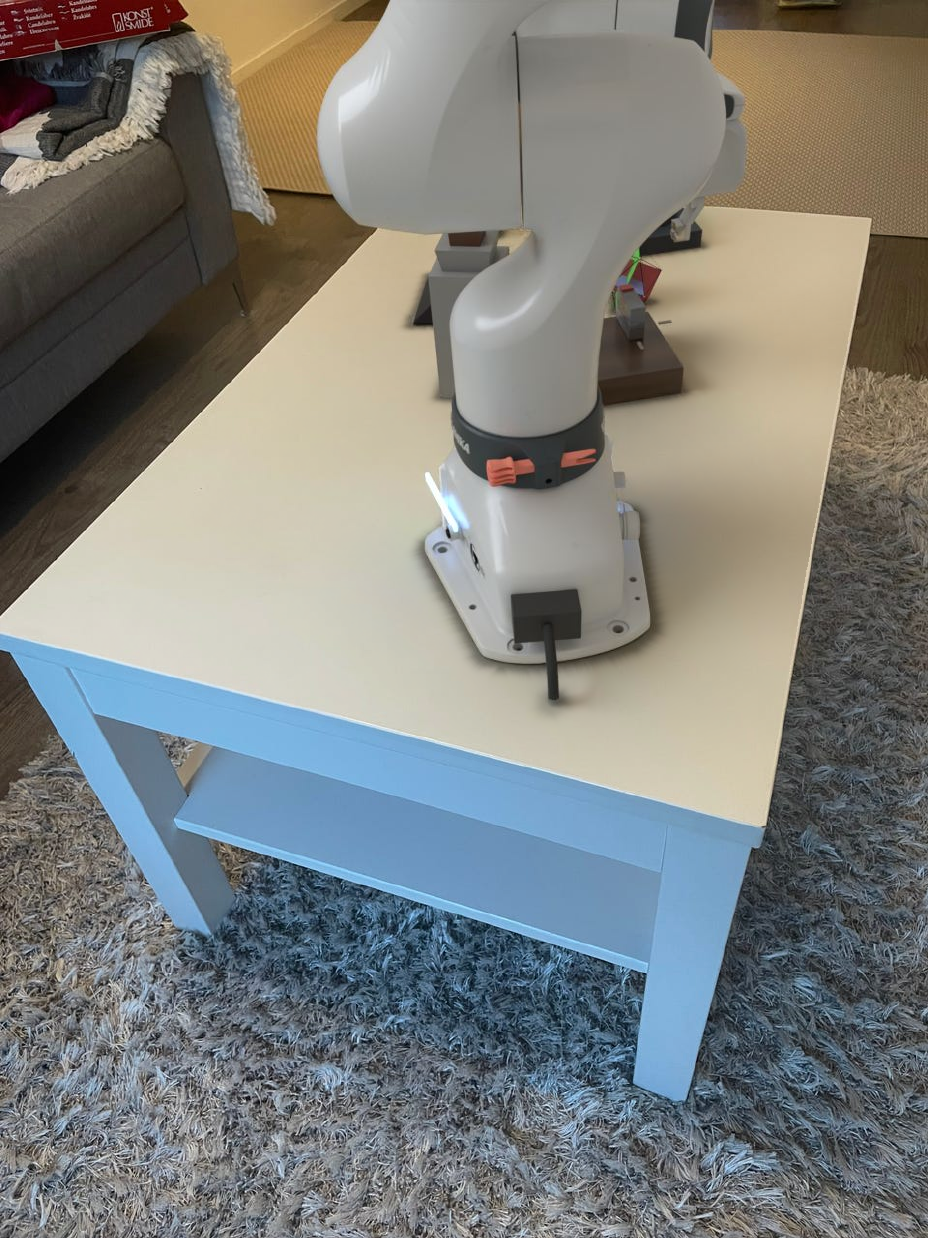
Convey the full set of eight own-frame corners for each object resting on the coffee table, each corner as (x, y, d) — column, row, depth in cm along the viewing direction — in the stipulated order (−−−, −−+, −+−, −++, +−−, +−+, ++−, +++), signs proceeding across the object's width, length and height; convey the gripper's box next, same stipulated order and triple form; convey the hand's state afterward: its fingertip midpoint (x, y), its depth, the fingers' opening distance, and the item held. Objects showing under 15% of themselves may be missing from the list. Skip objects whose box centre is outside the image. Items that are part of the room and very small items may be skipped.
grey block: (643, 338, 102) (646, 304, 99) (629, 340, 101) (631, 306, 99) (630, 315, 105) (632, 282, 102) (615, 317, 105) (617, 284, 102)
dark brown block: (696, 390, 100) (699, 363, 97) (587, 407, 99) (588, 380, 96) (655, 326, 109) (657, 300, 107) (555, 342, 108) (555, 316, 106)
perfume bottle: (503, 400, 101) (495, 231, 88) (440, 397, 102) (423, 229, 89) (513, 366, 105) (507, 200, 92) (453, 363, 107) (439, 199, 94)
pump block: (700, 246, 122) (704, 215, 119) (624, 258, 121) (625, 226, 118) (670, 209, 130) (672, 178, 127) (598, 219, 130) (599, 189, 127)
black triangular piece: (472, 326, 112) (469, 289, 109) (410, 326, 113) (406, 289, 110) (484, 275, 121) (481, 239, 117) (426, 276, 122) (422, 240, 118)
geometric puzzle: (671, 270, 114) (633, 217, 110) (674, 298, 109) (634, 244, 105) (621, 305, 117) (582, 255, 113) (621, 333, 113) (580, 282, 109)
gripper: (538, 126, 84) (540, 275, 94) (763, 94, 86) (741, 245, 96) (523, 102, 89) (527, 246, 99) (737, 72, 90) (719, 218, 100)
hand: (634, 245), depth 97 cm, fingers open, 8 cm apart
